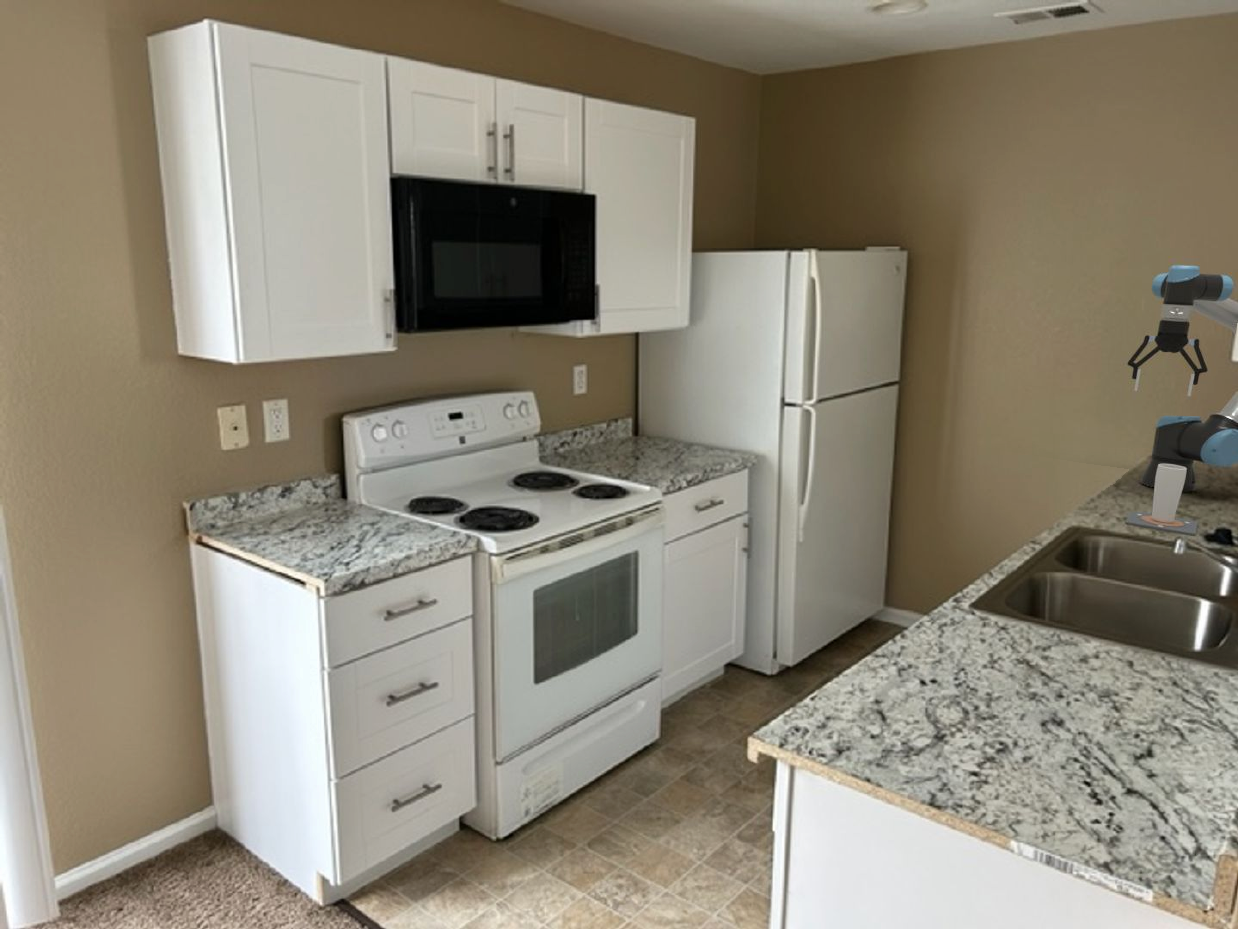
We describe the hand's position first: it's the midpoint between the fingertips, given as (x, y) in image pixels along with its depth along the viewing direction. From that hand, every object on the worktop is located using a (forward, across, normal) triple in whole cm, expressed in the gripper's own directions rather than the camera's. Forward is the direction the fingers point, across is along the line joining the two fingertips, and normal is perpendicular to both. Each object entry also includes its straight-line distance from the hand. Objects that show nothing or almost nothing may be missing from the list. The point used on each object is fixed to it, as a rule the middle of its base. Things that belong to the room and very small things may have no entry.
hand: (1161, 393), depth 272 cm
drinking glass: (+31, +5, -32) cm, 45 cm away
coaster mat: (+32, +5, -32) cm, 45 cm away
